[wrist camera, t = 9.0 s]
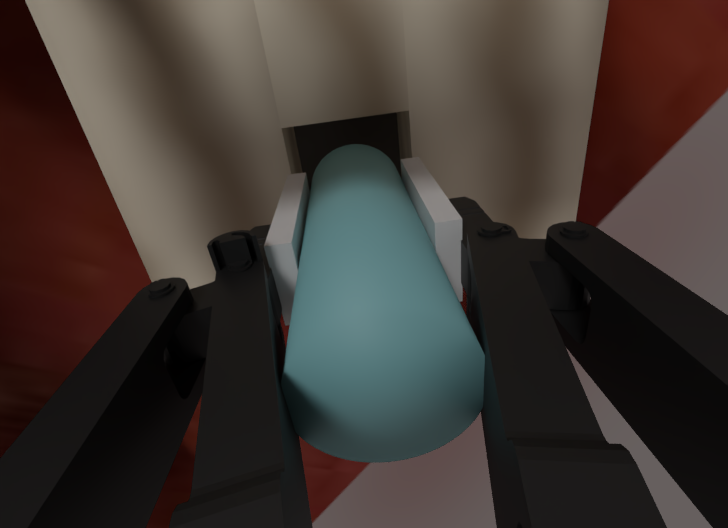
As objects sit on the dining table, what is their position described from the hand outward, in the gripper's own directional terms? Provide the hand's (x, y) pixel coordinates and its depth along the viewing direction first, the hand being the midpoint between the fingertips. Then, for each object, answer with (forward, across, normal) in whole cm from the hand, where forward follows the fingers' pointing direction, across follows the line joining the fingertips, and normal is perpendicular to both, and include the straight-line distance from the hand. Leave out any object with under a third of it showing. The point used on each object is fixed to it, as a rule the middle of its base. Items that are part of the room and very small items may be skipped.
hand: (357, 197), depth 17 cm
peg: (+1, 0, 0) cm, 1 cm away
